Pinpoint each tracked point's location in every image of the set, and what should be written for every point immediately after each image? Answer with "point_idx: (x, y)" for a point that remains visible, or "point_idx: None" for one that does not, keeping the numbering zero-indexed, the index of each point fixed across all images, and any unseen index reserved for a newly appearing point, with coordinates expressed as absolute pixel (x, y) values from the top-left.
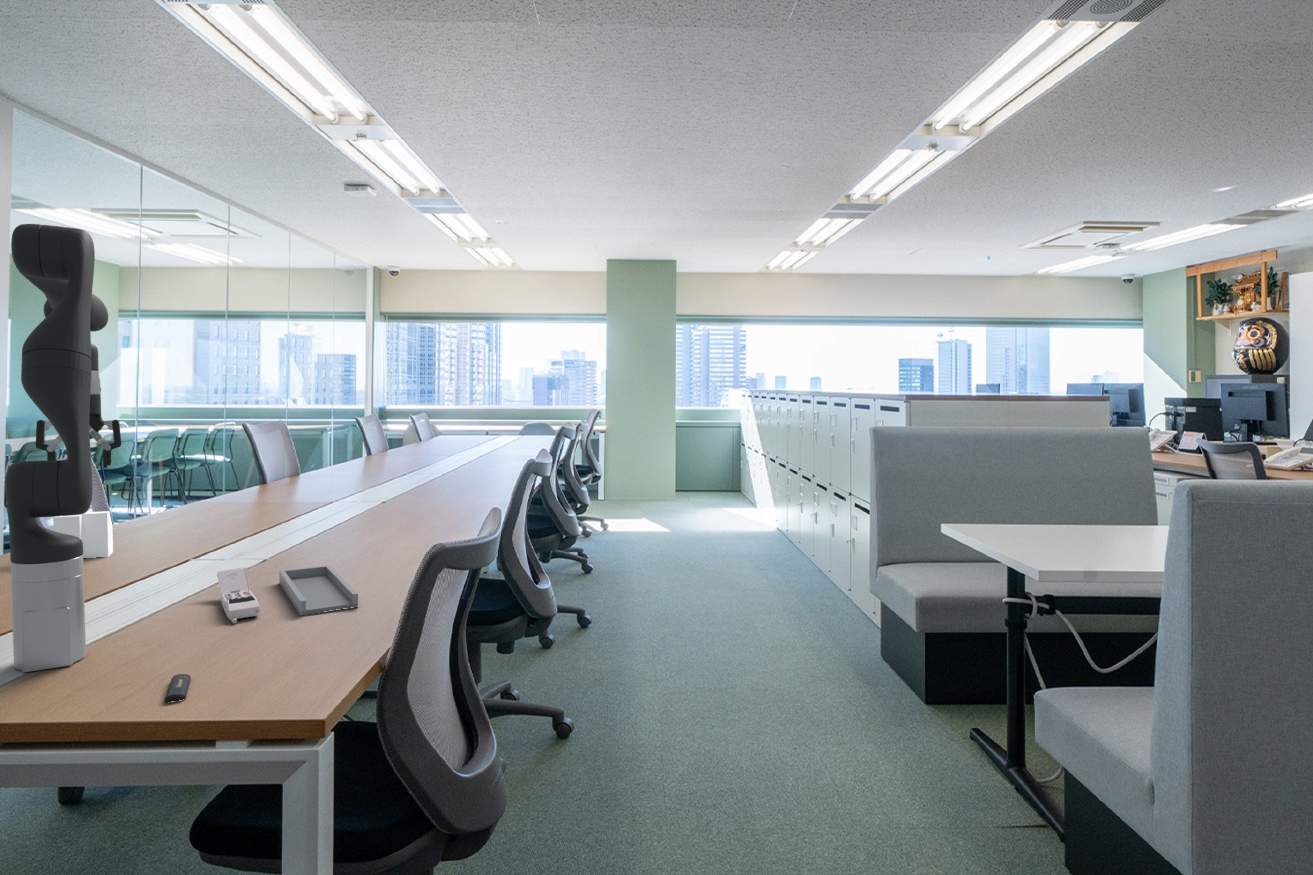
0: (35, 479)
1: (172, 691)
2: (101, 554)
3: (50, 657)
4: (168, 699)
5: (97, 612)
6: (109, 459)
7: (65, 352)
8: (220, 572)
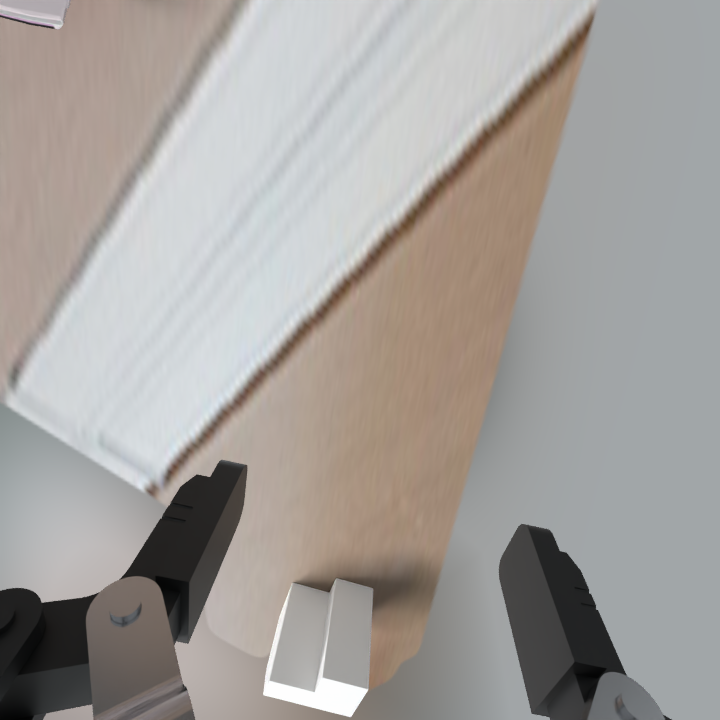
0: None
1: None
2: (301, 591)
3: None
4: None
5: (394, 83)
6: (177, 510)
7: None
8: (55, 11)
